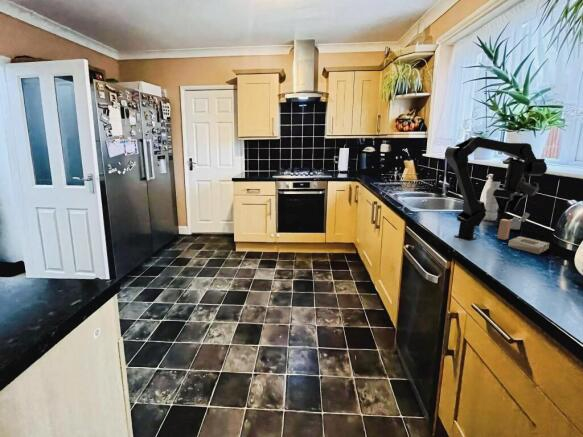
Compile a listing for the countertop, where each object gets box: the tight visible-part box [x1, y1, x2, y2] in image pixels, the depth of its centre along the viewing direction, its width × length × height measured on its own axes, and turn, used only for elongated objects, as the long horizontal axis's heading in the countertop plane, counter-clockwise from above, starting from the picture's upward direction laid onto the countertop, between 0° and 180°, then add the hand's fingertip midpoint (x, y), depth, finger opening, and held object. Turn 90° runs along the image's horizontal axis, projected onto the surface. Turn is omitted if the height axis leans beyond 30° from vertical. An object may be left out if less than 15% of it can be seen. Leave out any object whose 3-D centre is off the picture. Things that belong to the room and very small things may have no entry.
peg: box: [496, 218, 512, 241], centre depth 134 cm, size 3×3×8 cm
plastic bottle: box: [483, 181, 501, 222], centre depth 163 cm, size 6×7×20 cm
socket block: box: [507, 236, 550, 255], centre depth 123 cm, size 10×10×2 cm
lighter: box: [509, 212, 530, 230], centre depth 149 cm, size 7×2×8 cm, turn 78°
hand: (507, 212), depth 132 cm, fingers open, 9 cm apart
